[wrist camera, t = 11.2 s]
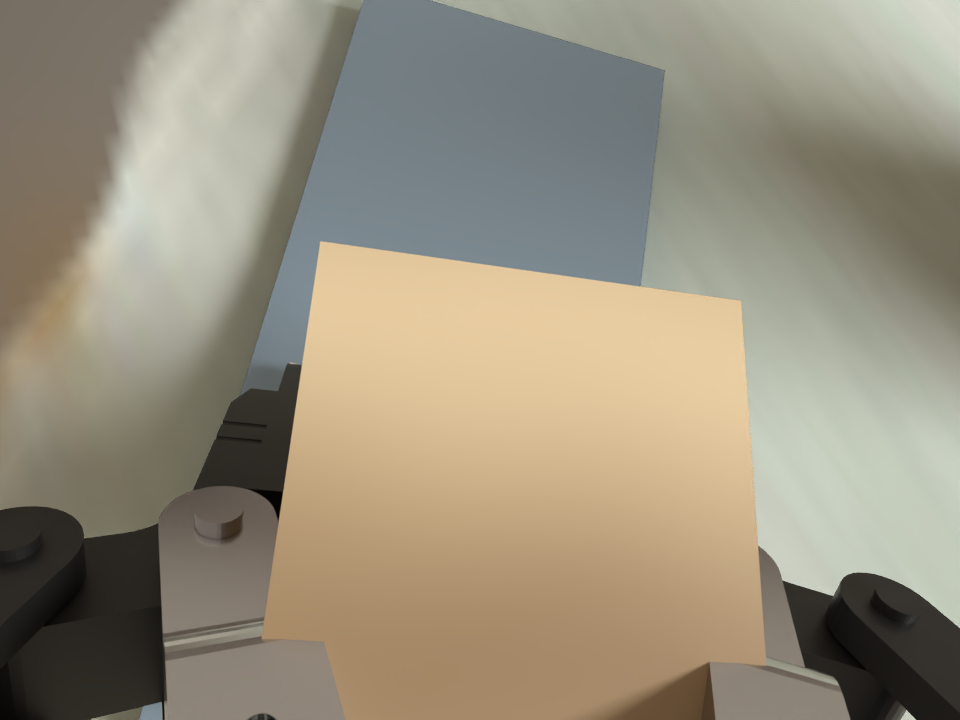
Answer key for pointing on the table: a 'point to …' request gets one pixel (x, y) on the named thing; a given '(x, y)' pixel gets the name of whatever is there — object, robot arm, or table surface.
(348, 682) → the wooden pillar
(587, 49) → the building board
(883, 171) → the table surface
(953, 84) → the table surface
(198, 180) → the table surface
